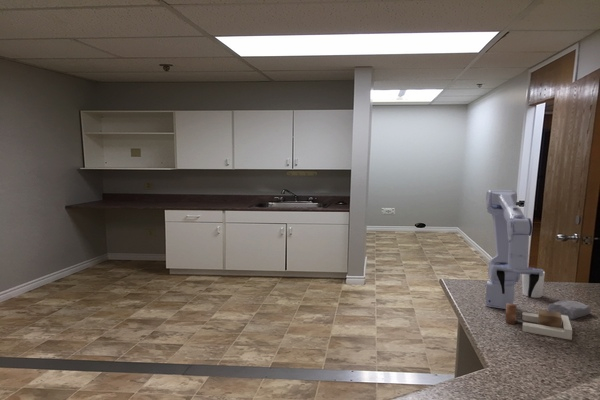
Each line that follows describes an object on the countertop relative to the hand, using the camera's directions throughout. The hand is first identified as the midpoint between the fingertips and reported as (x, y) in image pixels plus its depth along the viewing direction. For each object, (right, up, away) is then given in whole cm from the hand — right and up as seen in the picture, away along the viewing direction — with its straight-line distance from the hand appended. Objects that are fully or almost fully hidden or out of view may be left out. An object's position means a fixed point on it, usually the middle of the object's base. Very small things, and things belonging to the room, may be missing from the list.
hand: (516, 294), depth 134 cm
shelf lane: (+6, -10, -3) cm, 12 cm away
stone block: (+23, -9, +10) cm, 27 cm away
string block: (+4, -10, -2) cm, 11 cm away
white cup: (+21, -7, +28) cm, 36 cm away
